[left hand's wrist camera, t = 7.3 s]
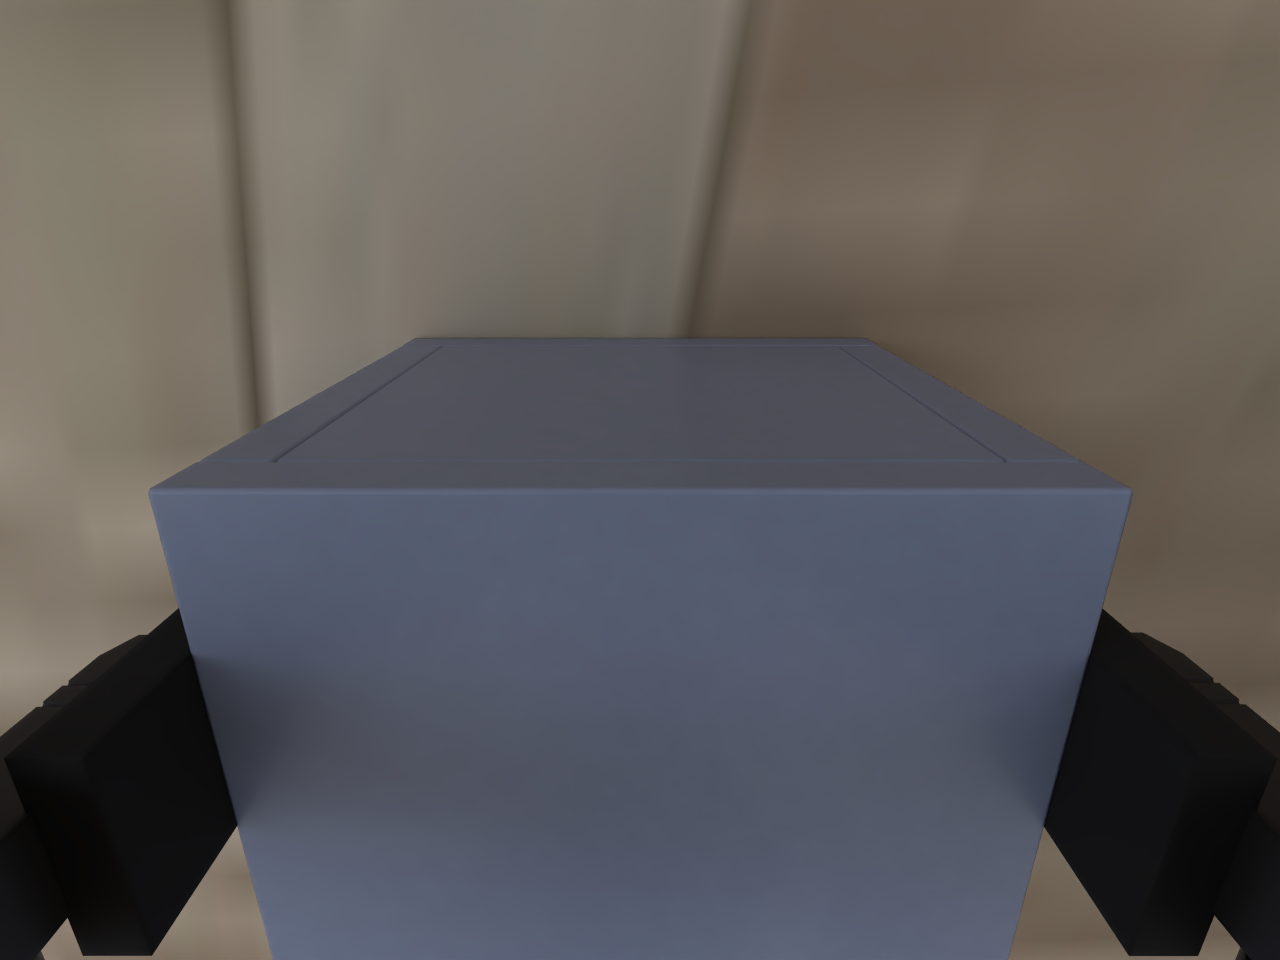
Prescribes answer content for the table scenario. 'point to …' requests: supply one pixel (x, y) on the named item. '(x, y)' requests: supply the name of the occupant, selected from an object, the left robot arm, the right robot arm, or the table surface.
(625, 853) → the cabinet
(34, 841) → the left robot arm
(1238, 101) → the table surface
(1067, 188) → the table surface
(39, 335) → the table surface
